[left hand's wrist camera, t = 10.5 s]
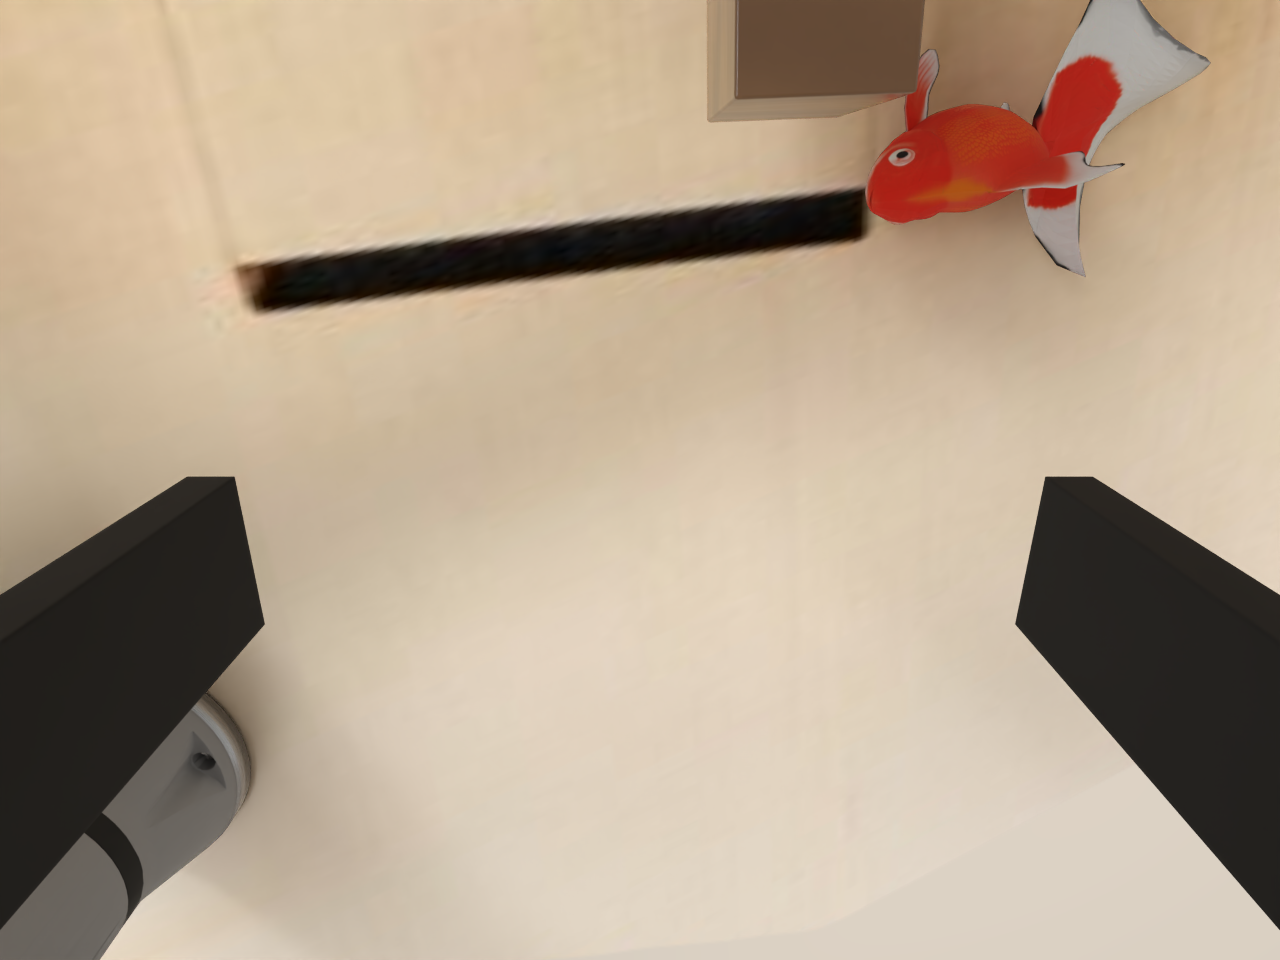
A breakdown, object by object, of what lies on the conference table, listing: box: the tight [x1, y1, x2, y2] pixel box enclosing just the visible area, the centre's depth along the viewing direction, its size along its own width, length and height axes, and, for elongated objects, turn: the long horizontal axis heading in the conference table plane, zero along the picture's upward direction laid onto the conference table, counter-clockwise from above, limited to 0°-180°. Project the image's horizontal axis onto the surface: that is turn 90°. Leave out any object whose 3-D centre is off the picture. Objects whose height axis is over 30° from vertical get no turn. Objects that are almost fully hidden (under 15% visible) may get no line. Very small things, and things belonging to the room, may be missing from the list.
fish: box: [865, 0, 1211, 277], centre depth 33 cm, size 11×16×10 cm
